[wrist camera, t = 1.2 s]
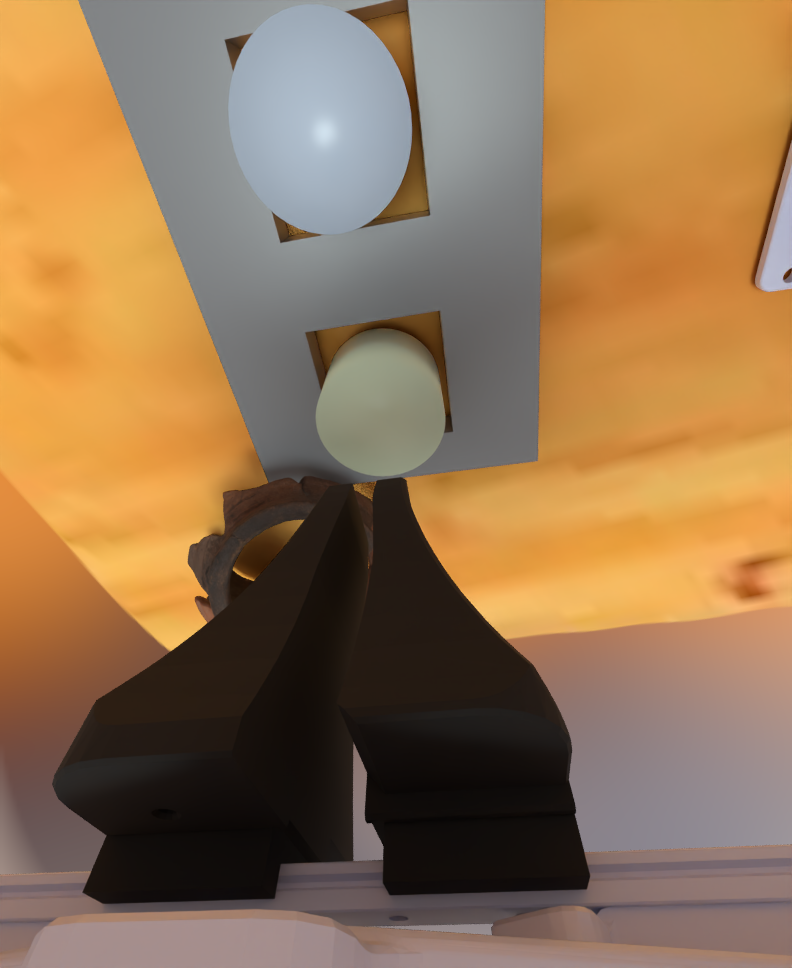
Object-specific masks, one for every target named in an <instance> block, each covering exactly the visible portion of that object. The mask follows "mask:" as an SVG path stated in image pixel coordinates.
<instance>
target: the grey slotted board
mask: <svg viewBox="0 0 792 968" xmlns="http://www.w3.org/2000/svg"><path fill="white" fill-rule="evenodd" d="M78 1H79V4H80V6H81V9H82V11H83V14H84V16H85V19H86V21H87V24H88V26H89V29H90V31H91V34H92V36H93V39H94V42H95V44H96V47H97V49H98V52H99V54H100V57H101V59H102V62H103V64H104V67H105V69H106V72H107V74H108V77H109V80H110V82H111V85H112V87H113V90H114V92H115V95H116V97H117V100H118V102H119V105H120V107H121V110H122V112H123V115H124V118H125V120H126V123H127V125H128V128H129V130H130V133H131V135H132V138H133V140H134V143H135V145H136V148H137V150H138V153H139V156H140V158H141V161H142V163H143V166H144V168H145V171H146V173H147V176H148V178H149V181H150V183H151V186H152V188H153V191H154V194H155V196H156V199H157V201H158V204H159V206H160V209H161V211H162V214H163V216H164V219H165V221H166V224H167V226H168V229H169V232H170V234H171V237H172V239H173V242H174V244H175V247H176V249H177V252H178V254H179V257H180V259H181V262H182V264H183V267H184V270H185V272H186V275H187V277H188V280H189V282H190V285H191V287H192V290H193V292H194V295H195V297H196V300H197V302H198V305H199V308H200V310H201V313H202V315H203V318H204V320H205V323H206V325H207V328H208V330H209V333H210V335H211V338H212V340H213V343H214V346H215V348H216V351H217V353H218V356H219V358H220V361H221V363H222V366H223V368H224V371H225V373H226V376H227V378H228V381H229V384H230V386H231V389H232V391H233V394H234V396H235V399H236V401H237V404H238V406H239V409H240V411H241V414H242V416H243V419H244V422H245V424H246V427H247V429H248V432H249V434H250V437H251V439H252V442H253V444H254V447H255V449H256V452H257V454H258V457H259V460H260V462H261V465H262V467H263V470H264V472H265V475H266V477H267V480H268V482H269V483H270V482H272V481H275V480H279V479H283V478H292V479H294V480H295V481H296V482H298V483H299V482H300V480H301V479H302V478H303V477H304V476H314V477H317V478H321V479H326V480H331V481H333V482H336V483H339V484H350V483H353V484H357V483H365V482H373V481H377V480H382V479H390V478H398V477H402V478H405V477H413V476H421V475H429V474H437V473H445V472H453V471H461V470H469V469H477V468H485V467H493V466H501V465H509V464H517V463H525V462H533V461H538V413H539V350H540V286H541V222H542V158H543V94H544V30H545V0H78ZM305 4H317V5H325V6H330V7H334V8H337V9H339V10H342V11H344V12H346V13H349V14H350V15H352V16H353V17H355V18H357V19H358V20H360V21H364V20H368V19H372V18H376V17H381V16H385V15H389V14H394V13H398V12H402V11H407V13H408V23H409V32H410V41H411V51H412V60H413V70H414V79H415V88H416V98H417V107H418V117H419V126H420V135H421V145H422V154H423V164H424V173H425V182H426V192H427V201H428V210H427V211H422V212H416V213H411V214H405V215H400V216H395V217H389V218H384V219H378V220H373V221H370V222H369V223H367V224H365V225H364V226H362V227H360V228H358V229H355V230H353V231H350V232H346V233H342V234H333V235H325V234H316V233H311V232H308V233H303V234H297V235H292V236H289V233H288V229H287V225H286V222H285V221H284V220H282V219H281V218H279V217H278V216H277V215H276V214H274V213H273V212H272V211H271V210H270V209H269V208H268V207H267V206H266V205H265V204H264V203H263V202H262V201H261V200H260V199H259V197H258V196H257V195H256V193H255V192H254V191H253V189H252V188H251V186H250V184H249V183H248V181H247V179H246V178H245V176H244V174H243V171H242V169H241V167H240V165H239V162H238V160H237V157H236V154H235V151H234V147H233V143H232V139H231V134H230V127H229V114H228V102H229V90H230V84H231V79H232V75H233V71H234V68H235V65H236V62H237V60H238V57H239V55H240V53H241V51H240V49H243V47H244V46H245V44H246V42H247V41H248V39H249V38H250V36H251V35H252V34H253V33H254V32H255V31H256V29H257V28H258V27H259V26H260V25H261V24H262V23H264V22H265V21H266V20H267V19H269V18H270V17H271V16H273V15H275V14H276V13H278V12H280V11H282V10H284V9H287V8H290V7H293V6H298V5H305ZM435 311H439V314H440V323H441V333H442V342H443V352H444V361H445V370H446V380H447V389H448V399H449V408H450V415H448V416H445V430H444V434H443V437H442V440H441V442H440V444H439V446H438V447H437V449H436V451H435V452H434V453H433V454H432V456H431V457H429V458H428V459H427V460H426V461H425V462H424V463H422V464H421V465H420V466H418V467H416V468H415V469H413V470H410V471H408V472H405V473H402V474H398V475H393V476H372V475H366V474H363V473H359V472H357V471H354V470H352V469H350V468H348V467H346V466H344V465H343V464H341V463H340V462H339V461H337V460H336V459H335V458H334V457H333V456H332V455H331V454H330V453H329V452H328V450H327V449H326V448H325V446H324V445H323V443H322V441H321V439H320V436H319V434H318V431H317V426H316V408H317V403H318V400H319V397H320V394H321V391H322V388H323V385H324V382H325V379H326V373H325V369H324V365H323V362H322V358H321V354H320V350H319V346H318V343H317V339H316V335H315V331H317V330H323V329H330V328H336V327H342V326H348V325H354V324H360V323H367V322H373V321H379V320H385V319H391V318H397V317H404V316H410V315H416V314H422V313H428V312H435Z"/></svg>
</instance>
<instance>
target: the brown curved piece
mask: <svg viewBox="0 0 792 968" xmlns="http://www.w3.org/2000/svg"><path fill="white" fill-rule="evenodd" d="M334 485H342V484H339V483H336V482H333V481H331V480H326V479H321V478H317V477H314V476H304V477H303V478H302V479H301V480H300V482H299V483H298V482H296V481H295V480H294V479H292V478H283V479H279V480H275V481H272V482H270V483H268V484H265V485H262V486H260V487H257V488H252V489H248V490H242V491H238V490H232V491H227V492H224V493H223V498H224V504H223V512H224V520H225V533H224V534H223V535H222V536H219V535H214V534H212V535H209V536H207V537H204V538H203V539H202V540H201V541H200V542H199V543H196V544H192V545H191V546H190V549H189V555H188V564H189V566H190V567H191V569H192V570H193V572H194V573H195V576H196V578H197V580H198V582H199V583H200V585H201V587H202V588H203V589H204V590H205V591H206V593H207V594H208V595H209V596H208V597H207V599H206V598H204V597H201V596H196V597H195V602H196V605H197V607H198V609H199V611H200V613H201V614H202V616H203V617H204V619H205V620H206V621H207V623H208V622H209V621H211V620H212V619H213V618H214V617H215V616H216V615H218V614H219V613H220V612H221V611H222V610H223V609H225V608H226V607H227V606H228V605H229V604H230V603H232V602H233V601H234V600H235V599H236V598H237V597H238V596H239V595H240V594H241V593H242V592H243V591H244V590H245V589H246V588H247V587H248V586H249V585H250V584H251V583H252V582H253V581H252V580H249V579H246V578H243V577H241V576H240V575H238V574H237V573H235V572H234V571H233V570H232V569H233V566H234V564H235V561H236V559H237V558H238V556H239V554H240V552H241V551H242V549H243V547H244V546H245V545H246V544H247V543H248V542H249V541H250V540H251V539H253V538H254V537H255V536H257V535H259V534H260V533H262V532H263V531H265V530H266V529H268V528H270V527H272V526H275V525H277V524H280V523H282V522H285V521H291V520H301V519H302V520H305V519H306V517H307V516H308V515H309V513H310V512H311V510H312V509H313V508H314V506H315V505H316V503H317V502H318V501H319V499H320V498H321V496H322V495H323V494H324V492H325V491H326V490H327V488H328V487H329V486H334ZM355 494H356V498H357V501H358V505H359V509H360V513H361V516H362V520H363V524H364V528H365V531H366V535H367V539H368V543H369V569H368V583H367V590H368V585H369V579H370V573H371V567H372V559H373V502H372V501H371V500H370V499H369V498H367V497H365V496H364V495H362V494H361V493H359V492H357V491H355ZM366 595H367V591H366ZM365 600H366V598H365Z"/></svg>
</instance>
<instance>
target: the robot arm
mask: <svg viewBox="0 0 792 968" xmlns="http://www.w3.org/2000/svg"><path fill="white" fill-rule="evenodd" d="M790 268H792V141H791V145H790V149H789V153H788V157H787V160H786V164H785V168H784V172H783V175H782V179H781V183H780V187H779V190H778V194H777V198H776V202H775V206H774V209H773V213H772V217H771V221H770V224H769V228H768V232H767V236H766V239H765V243H764V247H763V251H762V255H761V258H760V262H759V266H758V270H757V273H756V277H755V284H756V286H757V288H759V289H761V290H763V291H766V292H773V291H779V290H786V289H792V272H791V274H790V276H789V277H787V278H786V279H784V280H783V276H784V274H785V272H786V271H787V270H789V269H790ZM368 564H369V543H368V539H367V535H366V531H365V528H364V524H363V520H362V516H361V513H360V509H359V505H358V501H357V498H356V494H355V490H354V486H353V483H350V484H342V485H334V486H329V487H328V488H327V490H326V491H325V492H324V494H323V495H322V496H321V498H320V499H319V501H318V502H317V503H316V505H315V506H314V508H313V509H312V510H311V512H310V513H309V515H308V516H307V517H306V519H305V520H304V522H303V523H302V524H301V526H300V527H299V528H298V529H297V531H296V532H295V533H294V535H293V536H292V537H291V539H290V540H289V541H288V543H287V544H286V545H285V546H284V548H283V549H282V550H281V551H280V552H279V553H278V555H277V556H276V557H275V558H274V559H273V561H272V562H271V563H270V564H269V565H268V566H267V568H266V569H265V570H264V571H263V572H262V573H261V574H260V575H259V576H258V577H257V578H256V579H255V580H254V581H253V582H252V583H251V584H250V585H249V586H248V587H247V588H246V589H245V590H244V591H243V592H242V593H241V594H240V595H239V596H238V597H237V598H236V599H235V600H234V601H233V602H232V603H230V604H229V605H228V606H227V607H226V608H225V609H223V610H222V611H221V612H220V613H219V614H218V615H216V616H215V617H214V618H213V619H212V620H211V621H209V622H208V623H207V624H206V625H205V626H204V627H202V628H201V629H200V630H199V631H197V632H196V633H195V634H194V635H192V636H191V637H190V638H188V639H187V640H186V641H184V642H183V643H182V644H180V645H179V646H178V647H176V648H175V649H174V650H172V651H171V652H169V653H168V654H167V655H165V656H164V657H163V658H161V659H160V660H158V661H157V662H155V663H154V664H152V665H151V666H150V667H148V668H147V669H145V670H143V671H142V672H140V673H139V674H137V675H136V676H134V677H133V678H131V679H129V680H128V681H126V682H125V683H123V684H122V685H120V686H119V687H117V688H115V689H114V690H112V691H111V692H109V693H107V694H106V695H105V696H102V697H101V698H99V699H98V700H96V702H95V704H94V705H93V707H92V709H91V711H90V712H89V714H88V716H87V718H86V719H85V721H84V723H83V725H82V727H81V728H80V730H79V732H78V734H77V736H76V738H75V739H74V741H73V743H72V745H71V746H70V748H69V750H68V752H67V754H66V756H65V757H64V759H63V761H62V763H61V764H60V766H59V768H58V770H57V772H56V773H55V775H54V779H53V783H52V785H53V787H54V790H55V792H56V794H57V797H58V799H59V800H60V801H61V802H62V803H64V804H65V805H66V806H67V807H68V808H69V809H71V810H72V811H73V812H75V813H76V814H78V815H79V816H80V817H82V818H83V819H84V820H86V821H87V822H89V823H90V824H91V825H93V826H94V827H96V828H97V829H99V830H100V831H101V832H103V833H104V834H105V835H107V836H106V838H105V841H104V843H103V845H102V848H101V850H100V852H99V855H98V857H97V859H96V862H95V864H94V866H93V869H92V871H85V872H57V873H34V874H33V873H31V874H5V875H0V968H792V844H791V845H765V846H741V847H740V846H739V847H713V848H688V849H663V850H662V849H660V850H636V851H635V850H634V851H608V852H584V849H583V845H582V841H581V837H580V833H579V829H578V825H577V821H576V818H575V813H576V809H575V808H576V807H575V802H574V798H573V794H572V790H571V787H570V783H569V772H570V763H571V754H572V745H571V739H570V736H569V732H568V730H567V727H566V725H565V722H564V720H563V718H562V716H561V713H560V711H559V709H558V707H557V705H556V703H555V701H554V699H553V698H552V696H551V694H550V692H549V690H548V689H547V687H546V685H545V684H544V682H543V680H542V679H541V677H540V675H539V674H538V672H537V671H536V669H535V667H534V666H533V664H532V663H530V662H529V661H528V660H527V659H526V658H525V657H524V656H523V655H521V654H520V653H519V652H518V651H517V650H516V649H515V648H514V647H513V646H512V645H510V644H509V643H508V642H507V641H506V640H505V639H504V638H503V637H502V636H501V635H500V634H499V633H498V632H497V631H496V630H495V629H494V628H493V627H492V626H491V625H490V624H489V623H488V622H487V621H486V620H485V619H484V617H483V616H482V615H481V614H480V613H479V612H478V611H477V609H476V608H475V607H474V606H473V605H472V604H471V603H470V601H469V600H468V599H467V598H466V597H465V596H464V594H463V593H462V592H461V591H460V589H459V588H458V587H457V585H456V584H455V583H454V581H453V580H452V579H451V577H450V576H449V575H448V573H447V572H446V570H445V569H444V568H443V566H442V565H441V563H440V561H439V560H438V558H437V557H436V555H435V554H434V552H433V550H432V548H431V547H430V545H429V543H428V541H427V540H426V538H425V536H424V534H423V532H422V530H421V528H420V526H419V524H418V522H417V519H416V517H415V515H414V512H413V510H412V507H411V503H410V498H409V492H408V487H407V481H406V480H405V479H403V478H402V477H398V478H390V479H382V480H377V482H376V485H375V489H374V493H373V559H372V567H371V573H370V579H369V585H368V590H367V583H368ZM366 591H367V595H366ZM365 598H366V600H365ZM353 742H354V744H355V746H356V748H357V750H358V753H359V755H360V757H361V760H362V762H363V764H364V767H365V769H366V771H367V785H366V802H365V820H366V822H367V823H372V824H373V826H374V828H375V830H376V832H377V834H378V836H379V838H380V840H381V842H382V844H383V846H384V849H383V860H372V861H353ZM451 924H452V925H457V924H493V926H492V927H491V930H492V935H481V934H467V933H451V932H437V931H423V930H408V929H394V928H379V927H370V926H409V925H410V926H411V925H451Z"/></svg>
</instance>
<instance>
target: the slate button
mask: <svg viewBox="0 0 792 968" xmlns="http://www.w3.org/2000/svg"><path fill="white" fill-rule="evenodd" d="M228 114H229V127H230V134H231V139H232V143H233V147H234V151H235V154H236V157H237V160H238V162H239V165H240V167H241V169H242V171H243V174H244V176H245V178H246V179H247V181H248V183H249V184H250V186H251V188H252V189H253V191H254V192H255V193H256V195H257V196H258V197H259V199H260V200H261V201H262V202H263V203H264V204H265V205H266V206H267V207H268V208H269V209H270V210H271V211H272V212H273V213H274V214H276V215H277V216H278V217H279V218H281V219H282V220H284V221H285V222H287V223H288V224H290V225H292V226H294V227H297V228H299V229H301V230H304V231H307V232H311V233H316V234H325V235H333V234H342V233H346V232H350V231H353V230H355V229H358V228H360V227H362V226H364V225H365V224H367V223H369V222H370V221H372V220H373V219H374V218H375V217H377V216H378V215H379V214H380V213H381V212H382V211H383V210H384V209H385V208H386V207H387V205H388V204H389V203H390V201H391V200H392V198H393V197H394V196H395V194H396V192H397V190H398V188H399V186H400V185H401V182H402V180H403V177H404V175H405V172H406V169H407V165H408V161H409V157H410V150H411V143H412V119H411V110H410V104H409V98H408V94H407V91H406V87H405V84H404V81H403V78H402V76H401V73H400V71H399V68H398V67H397V65H396V63H395V61H394V59H393V57H392V55H391V54H390V52H389V51H388V49H387V48H386V47H385V45H384V44H383V42H382V41H381V40H380V39H379V38H378V37H377V36H376V34H375V33H374V32H373V31H372V30H371V29H370V28H368V27H367V26H366V25H365V24H364V23H362V22H361V21H360V20H358V19H357V18H355V17H353V16H352V15H350V14H349V13H346V12H344V11H342V10H339V9H337V8H334V7H330V6H325V5H317V4H305V5H298V6H293V7H290V8H287V9H284V10H282V11H280V12H278V13H276V14H275V15H273V16H271V17H270V18H269V19H267V20H266V21H265V22H264V23H262V24H261V25H260V26H259V27H258V28H257V29H256V31H255V32H254V33H253V34H252V35H251V36H250V38H249V39H248V41H247V42H246V44H245V46H244V47H243V49H242V51H241V53H240V55H239V57H238V60H237V62H236V65H235V68H234V71H233V75H232V79H231V84H230V90H229V102H228Z"/></svg>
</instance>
